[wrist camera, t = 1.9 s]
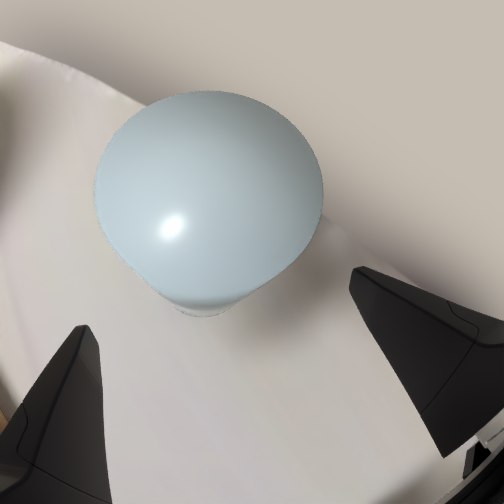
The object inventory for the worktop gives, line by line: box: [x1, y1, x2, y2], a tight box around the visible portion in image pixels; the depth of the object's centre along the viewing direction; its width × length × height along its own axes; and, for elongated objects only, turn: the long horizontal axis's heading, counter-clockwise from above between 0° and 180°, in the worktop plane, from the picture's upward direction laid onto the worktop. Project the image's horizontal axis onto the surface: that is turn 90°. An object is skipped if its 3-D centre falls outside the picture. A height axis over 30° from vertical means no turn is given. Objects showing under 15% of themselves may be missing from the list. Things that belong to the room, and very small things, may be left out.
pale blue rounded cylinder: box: [94, 91, 323, 317], centre depth 13 cm, size 6×6×13 cm
